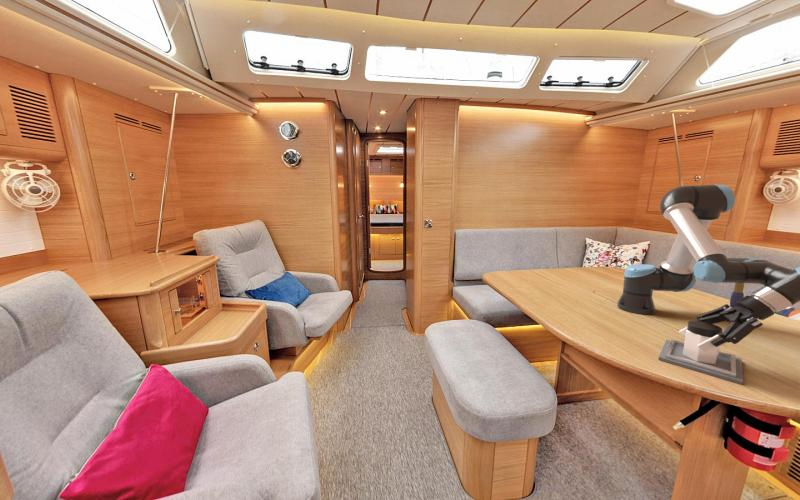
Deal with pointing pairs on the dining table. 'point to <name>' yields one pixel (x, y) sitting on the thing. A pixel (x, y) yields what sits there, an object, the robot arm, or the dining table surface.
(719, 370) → the tray
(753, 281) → the robot arm
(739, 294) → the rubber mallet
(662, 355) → the board
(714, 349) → the jar
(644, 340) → the dining table surface
